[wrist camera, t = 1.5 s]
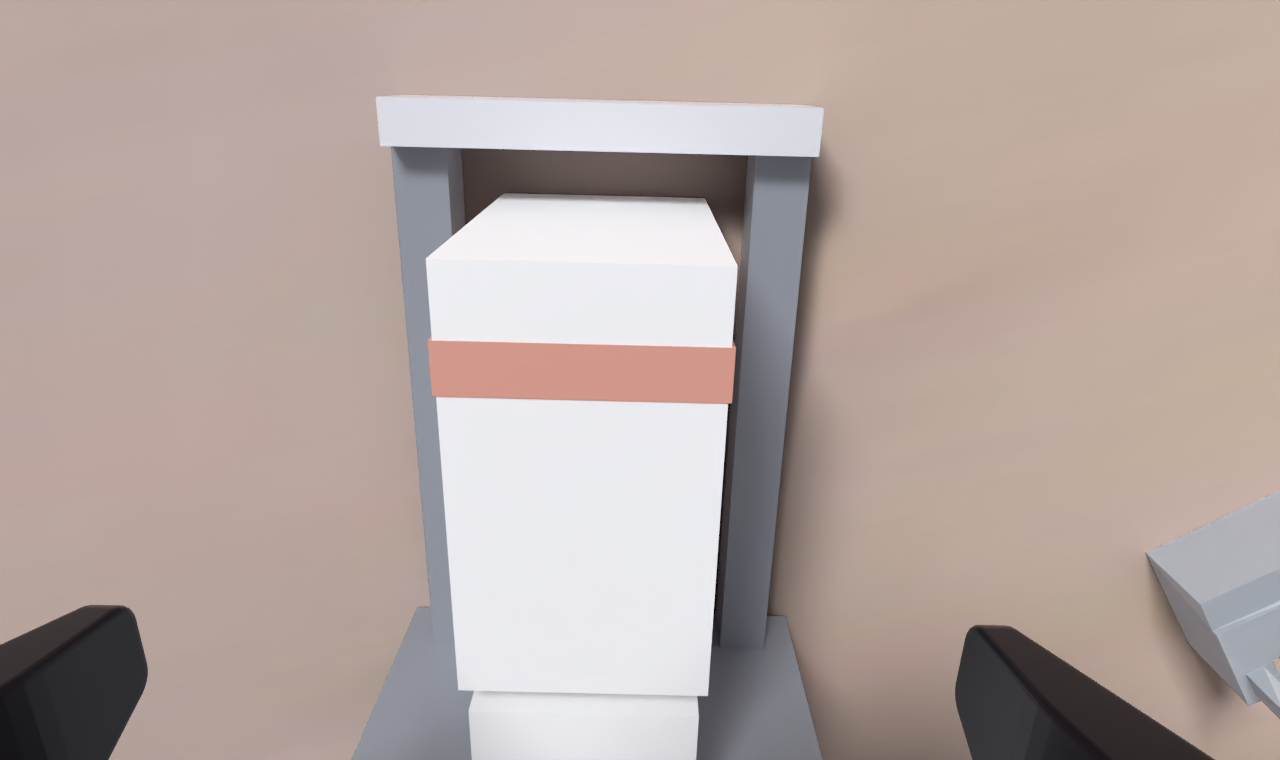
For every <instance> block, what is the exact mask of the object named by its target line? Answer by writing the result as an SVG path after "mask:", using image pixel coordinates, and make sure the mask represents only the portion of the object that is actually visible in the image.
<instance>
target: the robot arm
mask: <svg viewBox="0 0 1280 760" xmlns="http://www.w3.org/2000/svg"><path fill="white" fill-rule="evenodd" d="M147 676H148V668H147V662H146V658H145V654H144V650H143V646H142V642H141V638H140V634H139V630H138V626H137V622H136V618H135V615H134V613H133V612H132V611H131V610H130V609H129V608H127V607H125V606H120V605H89V606H84V607H82V608H79V609H77V610H75V611H73V612H71V613H68V614H66V615H64V616H62V617H60V618H58V619H56V620H53V621H51V622H49V623H47V624H45V625H43V626H40V627H38V628H36V629H34V630H32V631H30V632H27V633H25V634H23V635H21V636H19V637H17V638H14V639H12V640H10V641H8V642H6V643H4V644H1V645H0V760H108V759H109V757H110V755H111V753H112V752H113V750H114V748H115V746H116V744H117V742H118V740H119V738H120V736H121V734H122V732H123V730H124V728H125V726H126V724H127V722H128V720H129V718H130V717H131V715H132V713H133V711H134V709H135V707H136V705H137V703H138V701H139V699H140V697H141V695H142V693H143V691H144V688H145V685H146V682H147ZM955 697H956V705H957V709H958V713H959V716H960V719H961V723H962V726H963V729H964V733H965V736H966V739H967V743H968V746H969V749H970V752H971V756H972V759H973V760H1215V759H1213V758H1212V757H1210V756H1208V755H1207V754H1205V753H1204V752H1202V751H1201V750H1199V749H1198V748H1196V747H1195V746H1193V745H1192V744H1190V743H1189V742H1187V741H1186V740H1184V739H1182V738H1181V737H1179V736H1178V735H1176V734H1175V733H1173V732H1172V731H1170V730H1169V729H1167V728H1166V727H1164V726H1163V725H1161V724H1160V723H1158V722H1156V721H1155V720H1153V719H1152V718H1150V717H1149V716H1147V715H1146V714H1144V713H1143V712H1141V711H1140V710H1138V709H1137V708H1135V707H1134V706H1132V705H1131V704H1129V703H1127V702H1126V701H1124V700H1123V699H1121V698H1120V697H1118V696H1117V695H1115V694H1114V693H1112V692H1111V691H1109V690H1108V689H1106V688H1105V687H1103V686H1101V685H1100V684H1098V683H1097V682H1095V681H1094V680H1092V679H1091V678H1089V677H1088V676H1086V675H1085V674H1083V673H1082V672H1080V671H1079V670H1077V669H1076V668H1074V667H1072V666H1071V665H1069V664H1068V663H1066V662H1065V661H1063V660H1062V659H1060V658H1059V657H1057V656H1056V655H1054V654H1053V653H1051V652H1050V651H1048V650H1046V649H1045V648H1043V647H1042V646H1040V645H1039V644H1037V643H1036V642H1034V641H1033V640H1031V639H1030V638H1028V637H1027V636H1025V635H1024V634H1022V633H1020V632H1019V631H1017V630H1016V629H1014V628H1012V627H1009V626H1002V625H975V626H973V627H972V628H970V629H969V631H968V633H967V635H966V638H965V643H964V647H963V652H962V657H961V662H960V667H959V671H958V676H957V681H956V687H955Z"/></svg>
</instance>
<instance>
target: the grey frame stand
mask: <svg viewBox="0 0 1280 760" xmlns="http://www.w3.org/2000/svg"><path fill="white" fill-rule="evenodd" d="M376 106H377V117H378V128H379V139H380V146H391V153H392V165H393V177H394V188H395V200H396V211H397V223H398V235H399V246H400V258H401V269H402V281H403V293H404V304H405V316H406V327H407V339H408V350H409V362H410V374H411V385H412V397H413V408H414V420H415V432H416V443H417V455H418V466H419V478H420V490H421V501H422V513H423V524H424V536H425V548H426V559H427V571H428V582H429V594H430V606H431V608H422V607H417V609H416V611H415V614H414V616H413V618H412V621H411V623H410V625H409V628H408V630H407V632H406V635H405V637H404V639H403V642H402V644H401V646H400V648H399V651H398V653H397V655H396V658H395V660H394V662H393V665H392V667H391V669H390V672H389V674H388V676H387V679H386V681H385V683H384V686H383V688H382V690H381V692H380V695H379V697H378V699H377V702H376V704H375V706H374V709H373V711H372V713H371V716H370V718H369V720H368V723H367V725H366V727H365V730H364V732H363V734H362V736H361V739H360V741H359V743H358V746H357V748H356V750H355V753H354V755H353V757H352V760H822V756H821V752H820V748H819V744H818V740H817V737H816V733H815V729H814V725H813V721H812V717H811V713H810V710H809V706H808V702H807V698H806V694H805V690H804V686H803V683H802V679H801V675H800V671H799V667H798V663H797V659H796V656H795V652H794V648H793V644H792V640H791V636H790V632H789V629H788V625H787V621H786V617H785V616H767V608H768V598H769V588H770V578H771V568H772V557H773V547H774V537H775V527H776V517H777V507H778V496H779V486H780V476H781V466H782V456H783V445H784V435H785V425H786V415H787V405H788V395H789V384H790V374H791V364H792V354H793V344H794V333H795V323H796V313H797V303H798V293H799V283H800V272H801V262H802V252H803V242H804V232H805V222H806V211H807V201H808V191H809V181H810V171H811V160H812V157H819V152H820V142H821V132H822V122H823V112H824V108H820V107H814V106H808V105H791V104H752V103H712V102H672V101H633V100H593V99H553V98H513V97H474V96H434V95H396V96H382V97H376ZM461 148H480V149H520V150H559V151H599V152H639V153H679V154H719V155H748V163H747V177H746V192H745V206H744V220H743V234H742V249H741V263H740V277H739V291H738V306H737V320H736V334H735V347H736V355H735V369H734V383H733V397H732V403H731V405H730V420H729V434H728V448H727V462H726V477H725V491H724V505H723V519H722V534H721V548H720V562H719V576H718V591H717V605H716V615H715V614H714V615H713V629H712V644H711V658H710V673H709V687H708V696H681V695H638V694H595V693H551V692H508V691H465V690H458V680H457V667H456V654H455V641H454V627H453V614H452V601H451V588H450V574H449V561H448V548H447V535H446V521H445V508H444V495H443V482H442V469H441V455H440V442H439V429H438V416H437V402H436V396H432V390H431V377H430V364H429V351H428V340H429V338H430V337H431V323H430V310H429V297H428V283H427V270H426V258H427V257H428V256H429V255H431V254H432V253H433V252H434V251H435V250H436V249H438V248H439V247H440V246H441V245H442V244H444V243H445V242H446V241H447V240H448V239H450V238H451V237H452V236H453V235H454V234H456V233H457V232H458V231H459V230H460V229H462V228H463V227H464V226H465V207H464V189H463V171H462V153H461Z"/></svg>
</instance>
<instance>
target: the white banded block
mask: <svg viewBox="0 0 1280 760" xmlns="http://www.w3.org/2000/svg"><path fill="white" fill-rule="evenodd" d="M737 269H738V266H737V264H736V262H735V260H734V258H733V256H732V253H731V251H730V249H729V247H728V245H727V243H726V241H725V239H724V237H723V235H722V233H721V231H720V229H719V227H718V224H717V222H716V220H715V218H714V216H713V214H712V212H711V210H710V208H709V206H708V204H707V202H706V200H705V198H679V197H639V196H599V195H558V194H518V193H504V194H502V195H501V196H500V197H499V198H498V199H496V200H495V201H494V202H493V203H492V204H490V205H489V206H488V207H487V208H486V209H484V210H483V211H482V212H481V213H480V214H478V215H477V216H476V217H475V218H474V219H472V220H471V221H470V222H469V223H468V224H466V225H465V226H464V227H463V228H462V229H460V230H459V231H458V232H457V233H456V234H454V235H453V236H452V237H451V238H450V239H448V240H447V241H446V242H445V243H444V244H442V245H441V246H440V247H439V248H438V249H436V250H435V251H434V252H433V253H432V254H431V255H429V256H428V257H427V258H426V270H427V283H428V297H429V310H430V323H431V337H430V338H429V340H428V351H429V364H430V377H431V390H432V396H436V402H437V416H438V429H439V442H440V455H441V469H442V482H443V495H444V508H445V521H446V535H447V548H448V561H449V574H450V588H451V601H452V614H453V627H454V641H455V654H456V667H457V680H458V690H465V691H508V692H551V693H595V694H638V695H681V696H708V687H709V673H710V658H711V644H712V629H713V615H714V601H715V586H716V572H717V557H718V543H719V529H720V514H721V500H722V485H723V471H724V456H725V442H726V428H727V413H728V403H732V397H733V383H734V369H735V355H736V347H735V344H734V341H733V327H734V312H735V298H736V284H737Z"/></svg>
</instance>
